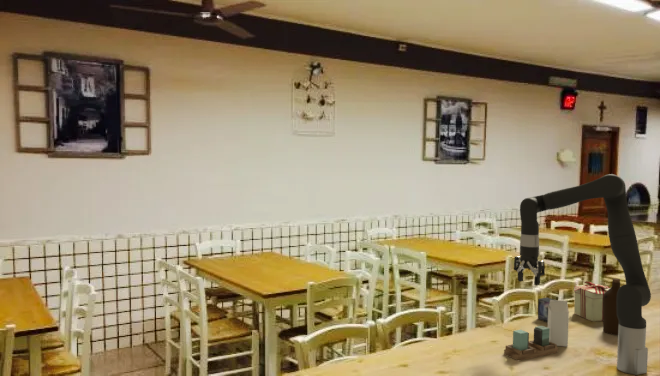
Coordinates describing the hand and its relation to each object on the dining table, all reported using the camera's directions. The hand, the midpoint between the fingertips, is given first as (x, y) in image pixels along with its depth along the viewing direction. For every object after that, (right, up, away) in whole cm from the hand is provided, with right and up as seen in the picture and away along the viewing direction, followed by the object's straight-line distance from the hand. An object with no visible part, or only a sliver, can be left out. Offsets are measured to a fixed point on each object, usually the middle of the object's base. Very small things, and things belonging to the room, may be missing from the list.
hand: (528, 283), depth 235 cm
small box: (+25, -26, +42) cm, 55 cm away
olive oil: (+49, -27, +25) cm, 61 cm away
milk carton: (+15, -28, +7) cm, 32 cm away
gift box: (+51, -26, +49) cm, 75 cm away
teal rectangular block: (-7, -26, -9) cm, 28 cm away
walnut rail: (-1, -28, -6) cm, 29 cm away
